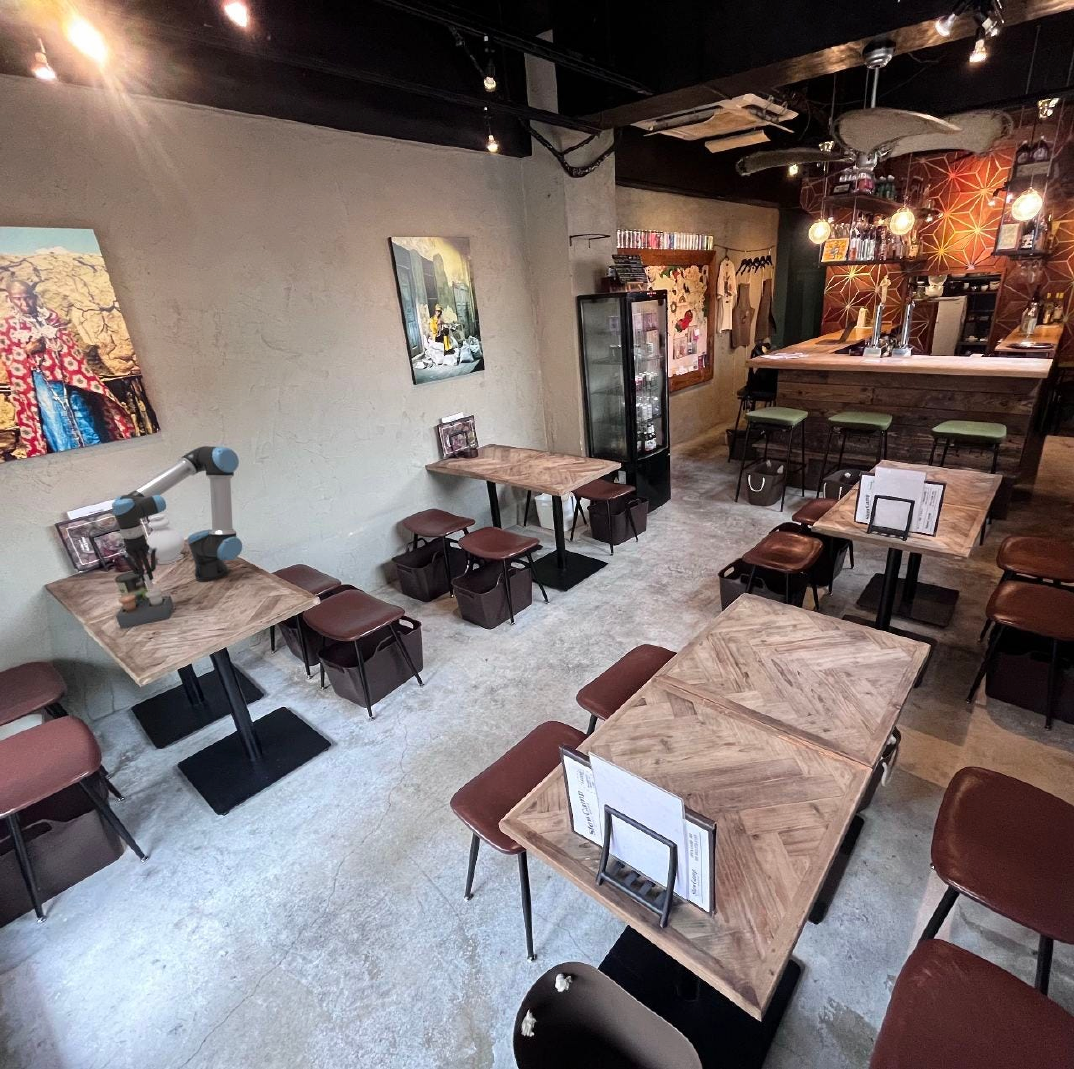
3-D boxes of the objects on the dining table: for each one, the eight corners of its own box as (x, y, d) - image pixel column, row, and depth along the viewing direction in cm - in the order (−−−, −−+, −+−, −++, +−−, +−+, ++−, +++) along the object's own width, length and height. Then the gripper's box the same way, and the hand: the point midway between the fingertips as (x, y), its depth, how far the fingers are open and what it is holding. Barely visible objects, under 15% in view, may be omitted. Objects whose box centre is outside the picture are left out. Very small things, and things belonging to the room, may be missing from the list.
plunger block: (174, 606, 260) (170, 594, 257) (168, 618, 249) (164, 606, 247) (128, 616, 254) (123, 604, 252) (120, 628, 244) (115, 616, 241)
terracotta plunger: (141, 606, 252) (136, 592, 249) (137, 612, 247) (132, 598, 244) (125, 609, 250) (120, 595, 248) (121, 615, 245) (116, 601, 242)
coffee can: (155, 596, 271) (145, 569, 266) (145, 606, 262) (134, 578, 256) (131, 599, 270) (121, 572, 265) (120, 609, 260) (109, 581, 255)
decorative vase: (193, 557, 314) (180, 514, 305) (157, 569, 302) (141, 524, 293) (183, 550, 326) (169, 508, 316) (147, 560, 314) (132, 517, 305)
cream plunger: (167, 601, 255) (162, 587, 252) (164, 607, 250) (159, 593, 247) (151, 604, 253) (147, 590, 251) (148, 610, 248) (143, 596, 245)
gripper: (112, 542, 234) (130, 593, 242) (149, 536, 238) (166, 587, 246) (117, 536, 241) (135, 586, 249) (153, 530, 245) (169, 580, 253)
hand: (150, 587), depth 248 cm, fingers closed
